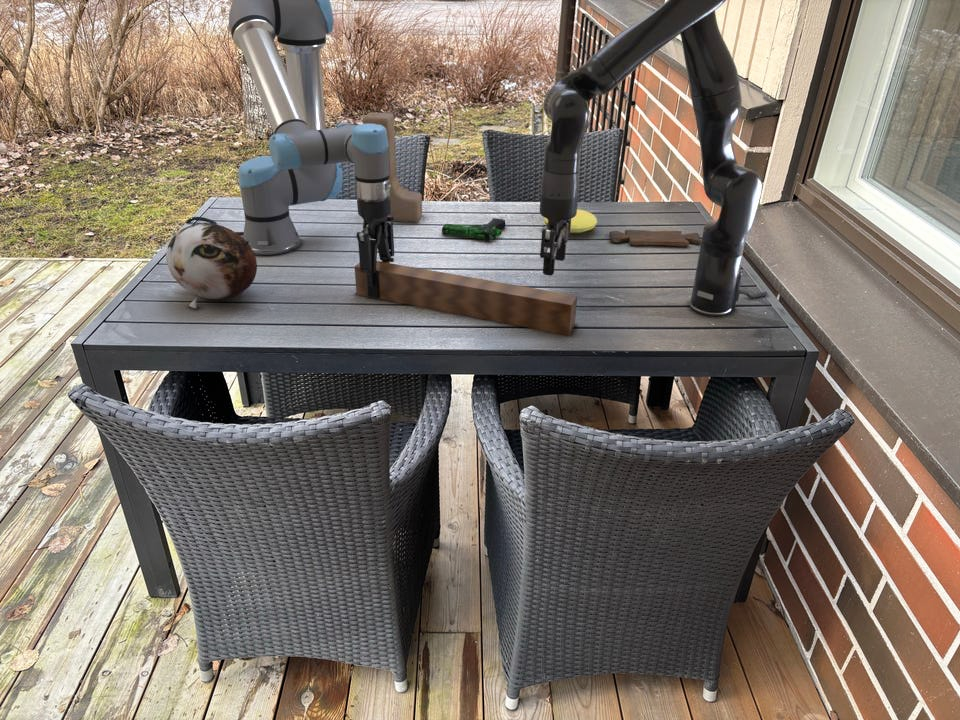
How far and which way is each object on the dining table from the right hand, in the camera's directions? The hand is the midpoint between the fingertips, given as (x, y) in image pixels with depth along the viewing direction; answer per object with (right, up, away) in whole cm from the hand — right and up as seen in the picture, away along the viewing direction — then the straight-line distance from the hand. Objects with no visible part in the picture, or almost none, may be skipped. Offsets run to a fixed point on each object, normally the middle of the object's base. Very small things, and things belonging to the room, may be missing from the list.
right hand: (554, 267), depth 151 cm
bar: (-20, -8, +14) cm, 26 cm away
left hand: (-40, -3, +20) cm, 45 cm away
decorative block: (-41, +23, +66) cm, 81 cm away
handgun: (-17, +17, +57) cm, 61 cm away
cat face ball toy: (-78, -5, +18) cm, 80 cm away
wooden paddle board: (+34, +14, +53) cm, 65 cm away
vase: (+11, +19, +60) cm, 64 cm away
